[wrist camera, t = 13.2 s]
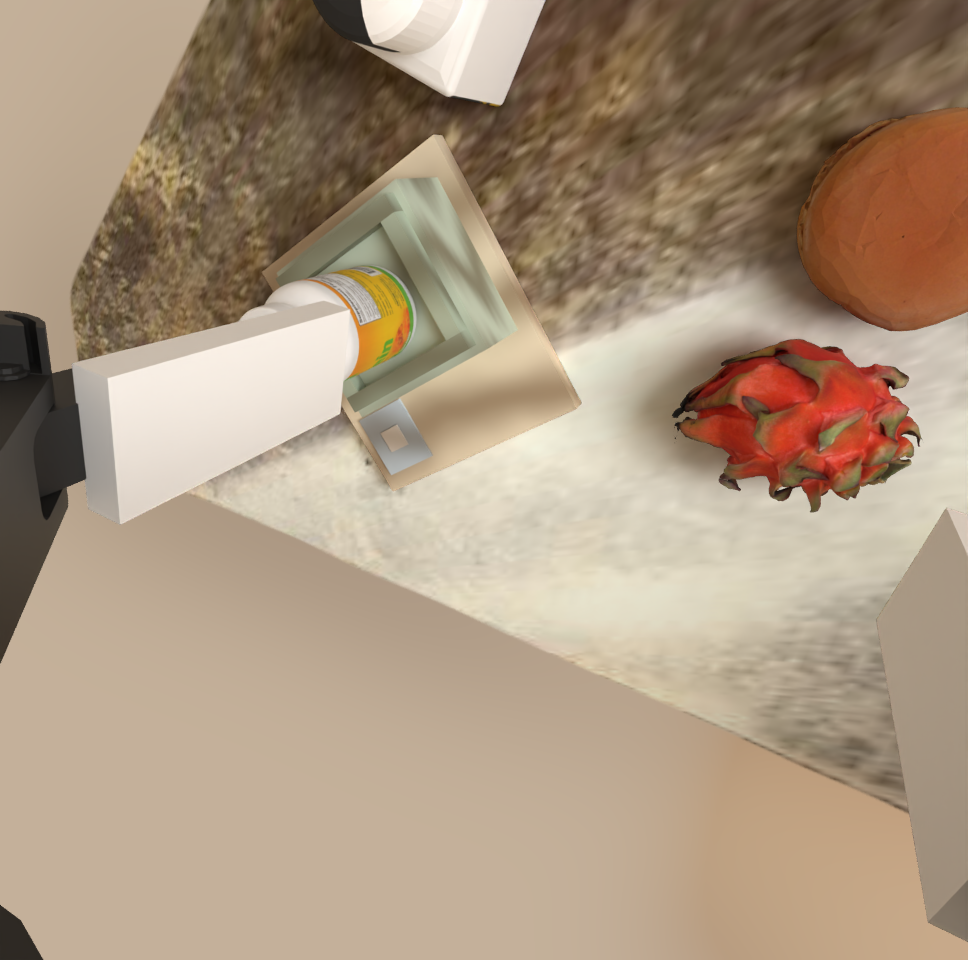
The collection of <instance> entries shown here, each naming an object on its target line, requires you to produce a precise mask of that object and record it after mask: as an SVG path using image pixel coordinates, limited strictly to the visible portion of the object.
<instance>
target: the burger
mask: <svg viewBox="0 0 968 960" xmlns="http://www.w3.org/2000/svg"><path fill="white" fill-rule="evenodd" d="M824 163H825V164H824V165H823V166H822V168H821V170H820V171H819V173H818V175H817V176H816V178H815V180H814V183H813V185H812V188H811V192H810V195H809V197H808V199H807V200H806V203H805V204H804V205H803V206H802V208H801V211H800V214H799V217H798V225H797V242H798V249H799V253H800V257H801V261H802V264H803V266H804V268H805V270H806V272H807V273H808V275H809V278H810V280H811V281H812V282H813V283H814V285H815V286H816V287H817V288H818V290H819V291H821V292H822V293H823V294H824V295H826V296H827V297H828V299H830V300H832V301H834V302H835V303H837V304H841V305H842V307H843V308H844V309H845V310H847V311H848V312H850V313H851V314H853V315H854V316H856V317H858V318H859V319H861V320H863V321H865V322H867V323H869V324H872V325H875V326H878V327H881V328H883V329H886V330H889V331H909V330H917V329H920V328H923V327H927V326H931V325H934V324H937V323H940V322H942V321H945V320H948V319H950V318H953V317H956V316H958V315H961V314H963V313H966V312H968V108H959V107H956V108H948V109H939V110H933V111H929V112H926V113H922V114H915V115H910V116H906V117H903V118H900V119H888V120H885V121H879V122H877V123H874V124H872V125H869V126H868V127H867V128H866V129H865V130H863V131H862V132H861V133H860V134H858V135H856V136H854V137H852V138H851V139H850V140H848V143H846V144H844V145H842V146H841V147H840V149H838V150H837V151H836V152H835V154H834V155H832V156H830V158H829V159H827V160H826V161H824Z"/></svg>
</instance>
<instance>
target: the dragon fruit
mask: <svg viewBox="0 0 968 960" xmlns="http://www.w3.org/2000/svg"><path fill="white" fill-rule="evenodd" d="M721 364H722V365H721V366H724V365H726V366H725V367H724V368H723V369H721V370H720V371H719V372H718V373H717V374H716V375H715V376H713V377H712V378H711V379H709V380H708V381H706V382H705V383H703V384H701V385H699V386H697V387H696V388H694V389H693V390H691V391H690V392H689V393H688V394H687V395H686V397H685V398H684V399H683V401H682V402H681V404H680V406H681V408H678V409H676V410H675V411H674V413H673V414H672V416H673V417H674V418H678V416H679V415H680V414H682V413H683V412H684V411H685V412H689V411H693V410H694V411H695V412H698V415H697V418H698V419H696V420H695V419H691V418H689V417H686V418H685V420H683V422H677V423H675V426H677V430H678V431H679V429H680V430H681V432H682V433H683V434H684V435H685V437H688V438H690V439H694V440H696V441H700V442H705V443H708V444H711V445H713V446H715V447H719V448H722V449H724V450H725V451H726V452H727V453H729V454H730V455H731V456H730V457H729V458H728V459H727V461H728V464H727V467H726V468H725V469H724V473H723V474H721V476H720V478H721V479H720V478H719V482H720V483H721V484H722V485H724V486H726V487H727V488H729V489H735V490H738V491H741V489H740V488H739V487H738V484H737V482H736V479H744V478H749V477H755V476H766V477H767V478H768V480H769V482H770V487H769V494H770V496H771V497H772V498H773V499H776V500H778V501H784V500H786V499H788V498H789V496H790V494H791V491H792V489H793V488H795V487H800V486H802V489H803V491H804V492H805V493H806V494H807V497H808V499H809V502H810V505H811V511H810V512H816V511H818V510H819V508H820V505H821V496H823V495H825V494H826V493H827V492H828V490H829V489H832V490H833V491H834V492H835V493H836V494H837V495H838V496H840V497H842V498H844V499H846V500H848V499H849V498H850V496H851V497H853V498H856V496H857V494H858V493H859V489H860V486H866V485H867V484H871V485H875V484H878V483H884V482H886V480H887V479H888V478H889V477H890V476H891V475H893V474H895V473H896V472H898V471H900V470H901V469H903V468H905V467H907V466H909V465H911V460H910V459H907V460H901V459H900V458H901V457H904V456H906V457H909V458H911V457H913V455H914V447H913V445H912V443H911V442H910V441H909V440H908V439H907V438H905V437H903V436H901V435H903V434H909V435H913V436H916V437H917V443H918V446H919V447H920V445H919V442H920V438H921V436H920V432H919V427H918V426H917V424H916V423H915V422H914V421H913V419H912V418H911V417H909V416H906V415H907V413H908V410H909V408H908V407H907V406H906V405H904V404H902V403H901V401H900V400H899V398H897V397H895V396H891V394H890V392H889V386H891V387H892V389H898V388H903V387H905V386H906V384H907V383H908V381H909V377H908V376H907V375H906V374H904V373H902V372H900V371H899V370H898V369H897V368H895V367H891V366H881V365H878V364H874V365H872V366H870V367H866V368H865V367H861V368H859V367H856V366H855V365H854V364H853V363H852V362H851V361H850V360H849V359H848V358H847V357H846V356H845V355H844V354H843V350H842V349H839V348H838V347H831V346H829V347H822V348H820V347H819V346H816V345H814V344H812V343H809V342H807V341H805V340H801V339H794V340H787V341H783V342H780V343H778V344H776V345H773V346H769V347H766V348H764V349H762V350H759V351H754V352H751V353H749V354H747V355H744V356H737V357H734V358H731V359H728V360H726V361H724V362H722V363H721ZM675 439H676V438H675ZM921 439H922V438H921ZM724 479H725V480H724ZM781 486H783V487H788V488H785V489H782V490H779V491H777V490H778V489H779V488H780V487H781Z"/></svg>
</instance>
